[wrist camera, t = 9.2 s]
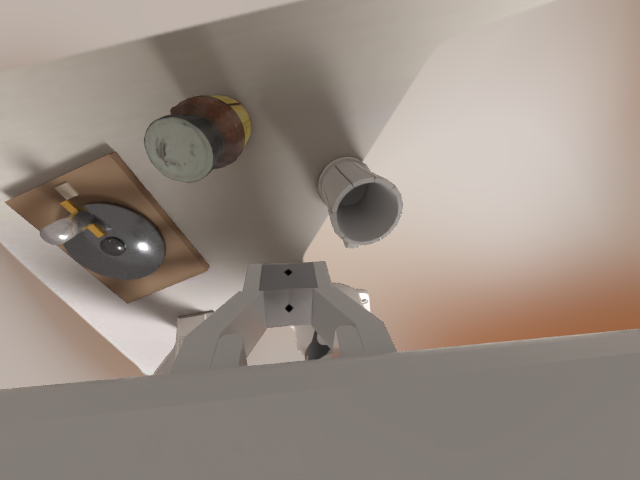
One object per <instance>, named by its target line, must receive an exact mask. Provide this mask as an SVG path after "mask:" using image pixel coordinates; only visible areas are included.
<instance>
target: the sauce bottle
mask: <svg viewBox="0 0 640 480" xmlns="http://www.w3.org/2000/svg"><path fill="white" fill-rule="evenodd" d="M170 112H171V115H168V116H164V117H161V118H159V119H157V120H155V121H154V122H152V123H151V124H150V126H149V127H148V129H147V130H146V134H145V138H144V145H145V148H146V152H147V154H148V156H149V158H150V160H151V162H152V163H153V165H154V166H155V167H156V168H157V169H158V170H159V171H160V172H161V173H162V174H163V175H165V176H167V177H169V178H171V179H173V180H176V181H181V182H188V183H189V182H194V181H198V180H200V179H202V178H204V177H205V176H207V175H208V174H209V173H210V172H211V171H212V170H213V169H217V168H222V167H225V166H227V165H229V164H231V163H232V162H234V161H235V160H236V159H237V157H238V156H239V155H240V154H241V152H242V150H243V148H244V147H245V145H246V143H247V141H248V140H249V138H250V135H251V119H250V117H249V115H248V113H247V111H246V110H245V108H244V107H243V106H242V105H241V104H240V103H239V102H237V101H236V100H234V99H232V98H230V97H227V96H208V95H203V96H196V97H192V98H188V99H186V100H184V101H182V102H180V103H179V104H178V105H177V106H175V107H173V108H172V109H171V110H170Z"/></svg>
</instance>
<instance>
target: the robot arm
mask: <svg viewBox="0 0 640 480" xmlns="http://www.w3.org/2000/svg"><path fill="white" fill-rule="evenodd" d="M282 326H290V327H291V328H292V329H293V330H294V331H295V335H296V343H297V349H298V351H299V352H300V353H301V354H302V355H304V356H305V361H296V362H285V363H275V364H264V365H253V366H247V360H246V358H247V357H248V355H249V354H250V352H251V351H252V349H253V348H254V346H255V345H256V344H257V342H258V341H259V339H260V338H261V336H262V335H263V334H264V332H265V331H266V328H272V327H282ZM0 480H640V329H629V330H620V331H610V332H600V333H589V334H579V335H569V336H558V337H548V338H537V339H527V340H517V341H507V342H495V343H485V344H474V345H465V346H453V347H443V348H433V349H422V350H411V351H402V352H397V350H396V348H395V346H394V344H393V342H392V340H391V337H390V335H389V333H388V331H387V329H386V327H385V325H384V322H382V321H381V320H380V319H378V318H377V317H376V316H374V315H373V314H372V313H370V301H369V294H368V292H367V291H366V290H362V289H354V288H351V287H349V286H347V285H344V284H340V283H331V280H330V276H329V273H328V269H327V265H326V262H325V261H320V262H308V263H263V264H262V263H258V264H249V265H248V269H247V274H246V278H245V283H244V288H243V291H242V292H238V293H236V294H235V295H234V296H233V297H232V298H231V299H229V300H228V301H227V302H226V303H225V304H223V305H222V306H221V307H220V308H219V309H217V310H216V311H215V312H214V313H213V314H211V315H210V316H209V317H208V318H207V319H205V320H204V321H203V322H202V323H201V324H200V325H198V326H197V327H196V328H195V329H194V330H192V331H191V332H190V333H189V334H188V335H186V336H185V338H184V341H183V343H182V345H181V348H180V350H179V352H178V355H177V357H176V359H175V362H174V364H173V366H172V369H171V371H170V373H169V374H159V375H149V376H138V377H128V378H117V379H107V380H96V381H86V382H75V383H65V384H55V385H45V386H33V387H23V388H13V389H2V390H0Z"/></svg>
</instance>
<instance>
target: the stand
mask: <svg viewBox="0 0 640 480" xmlns="http://www.w3.org/2000/svg"><path fill="white" fill-rule="evenodd" d="M68 199H69V200H70V201H71V202H72V203H73V204H74V205H75V206H77V207H79V206H82V205H84V204H88V203H92V202H110V203H116V204H120V205H123V206H126V207H129V208H131V209H133V210H135V211H137V212H139V213H141V214H142V215H144V216H145V217H147V218H148V219H149V220H150V221H151V222H152V223H153V224H154V225H155V226H156V227H157V228H158V229H159V231H160V232H161V234H162V236H163V238H164V240H165V243H166V255H165V258H164V261H163V262H162V264H161V265H160V266H159V268H158V269H157V270H156V271H155V272H153V273H152V274H150V275H148V276H146V277H143V278H139V279H133V280H122V279H114V278H109V277H106V276H102V275H100V274H97V273H95V272H93V271H91V270H89V269H87V268H85V267H84V266H83V267H84V268H85V269H86V270H87V271H89V272H90V273H91V274H92V275H93V276H95V277H96V278H97V279H98V280H100V281H101V282H102V283H103V284H104V285H106V286H107V287H108V288H109V289H110V290H112V291H113V292H114V293H115V294H117V295H118V296H119V297H120V298H121V299H123V300H124V301H125V302H126V303H127V304H128V303H130V302H133V301H135V300H137V299H140V298H142V297H145V296H147V295H150V294H152V293H155V292H157V291H159V290H162V289H164V288H167V287H169V286H172V285H174V284H176V283H179V282H181V281H184V280H186V279H189V278H191V277H193V276H196V275H198V274H201V273H203V272H206V271H207V270H208V268H209V264H208V263H207V262H206V261H205V260H204V258H203V257H202V256H201V255H200V254H199V252H198V251H197V250H196V249H195V247H194V246H193V245H192V244H191V243H190V241H189V240H188V239H187V238H186V237H185V235H184V234H183V233H182V232H181V230H180V229H179V228H178V227H177V226H176V224H175V223H174V222H173V221H172V220H171V218H170V217H169V216H168V215H167V213H166V212H165V211H164V210H163V209H162V207H161V206H160V205H159V204H158V203H157V201H156V200H155V199H154V198H153V197H152V195H151V194H150V193H149V192H148V190H147V189H146V188H145V187H144V186H143V184H142V183H141V182H140V181H139V180H138V178H137V177H136V176H135V175H134V173H133V172H132V171H131V170H130V169H129V167H128V166H127V165H126V164H125V163H124V161H123V160H122V159H121V158H120V156H119V155H118V154H117V153H116V152H114V153H111V154H108V155H106V156H103V157H101V158H99V159H97V160H95V161H93V162H90V163H88V164H86V165H84V166H82V167H80V168H77V169H75V170H73V171H71V172H69V173H67V174H64V175H62V176H60V177H58V178H56V179H54V180H51V181H49V182H47V183H45V184H43V185H41V186H38V187H36V188H34V189H32V190H30V191H28V192H25V193H23V194H21V195H19V196H17V197H15V198H12V199H10V200H8V201H6V202H5V203H6V204H7V205H8V206H10V207H11V208H12V209H13V210H15V211H16V212H17V213H18V214H19V215H21V216H22V217H23V218H24V219H25V220H27V221H28V222H29V223H30V224H32V225H33V226H34V227H35V228H36V229H38V230H39V231H40V230H41V229H43V228H44V227H46V226H48V225H50V224H52V223H54V222H56V221H58V220H60V219H62V218H64V217H65V216H66V215H67V214H68V213H69V211H68V210H67V209H66V208H64V207H63V206H62V205H61V204H60V203H61V202H63V201H66V200H68ZM57 246H58V247H59V248H61V249H62V250H63V251H64V252H66V253H67V254H68V255H69V256H70V257H72V256H71V255H70V254H69V253H68V252H67V250H66V249H65V247H64V245H63V244H61V245H57ZM72 258H73V257H72ZM73 259H74V258H73ZM74 260H75V259H74ZM75 261H76V260H75ZM76 262H77V261H76ZM79 264H80V263H79ZM80 265H81V264H80ZM81 266H82V265H81Z"/></svg>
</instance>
